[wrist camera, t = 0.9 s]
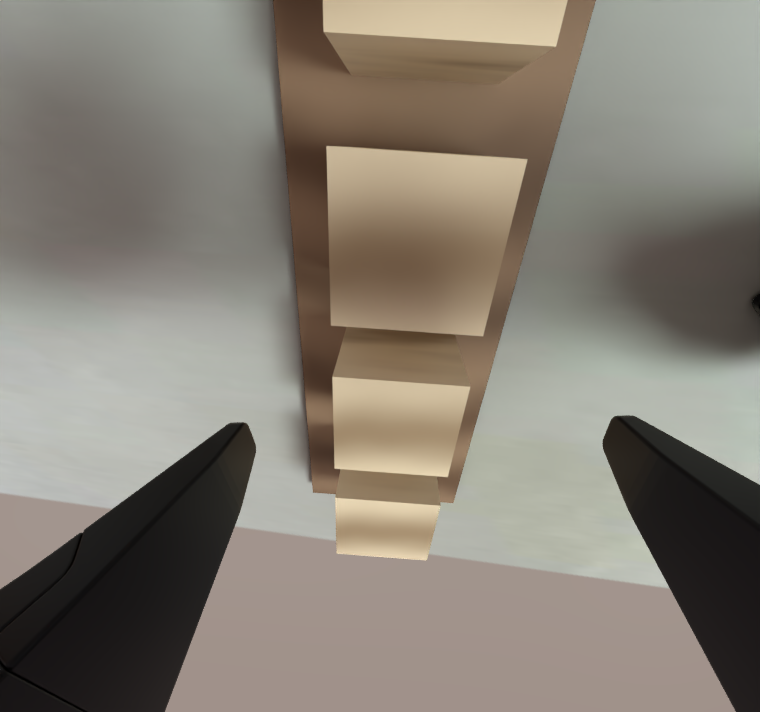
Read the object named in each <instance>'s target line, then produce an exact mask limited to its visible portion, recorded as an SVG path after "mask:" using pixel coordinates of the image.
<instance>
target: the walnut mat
mask: <svg viewBox="0 0 760 712" xmlns="http://www.w3.org/2000/svg"><path fill="white" fill-rule="evenodd" d="M595 1H596V0H568V1H567V5H566V9H565V13H564V17H563V21H562V25H561V29H560V33H559V37H558V41H557V45H556V47H555V48H553V49H552V50H550V51H548V52H547V53H545V54H544V55H542V56H541V57H539V58H538V59H536V60H534V61H533V62H531V63H530V64H528V65H527V66H525V67H523V68H522V69H520V70H519V71H517V72H516V73H514V74H513V75H511V76H509V77H508V78H506V79H505V80H503V81H502V82H500V83H499V84H483V83H467V82H452V81H436V80H421V79H405V78H390V77H374V76H359V75H351V74H350V72H349V71H348V69H347V68H346V66H345V65H344V63H343V61H342V60H341V58H340V57H339V55H338V54H337V52H336V51H335V49H334V47H333V46H332V44H331V43H330V41H329V40H328V38H327V36H326V35H325V33H324V29H323V0H273V6H274V18H275V31H276V43H277V55H278V68H279V80H280V92H281V105H282V117H283V129H284V141H285V154H286V166H287V178H288V191H289V203H290V215H291V227H292V240H293V252H294V264H295V277H296V289H297V301H298V314H299V326H300V338H301V350H302V363H303V375H304V387H305V400H306V412H307V424H308V436H309V449H310V461H311V473H312V486H313V492H315V493H328V494H336V491H337V486H338V480H339V474H340V469H335V464H334V424H333V384H332V376H333V373H334V369H335V366H336V362H337V359H338V355H339V352H340V348H341V345H342V341H343V338H344V334H345V331H346V327H344V326H331V309H330V269H329V229H328V190H327V150H326V146H347V147H364V148H379V149H394V150H409V151H424V152H439V153H454V154H470V155H484V156H496V157H507V158H519V159H528V160H527V164H526V168H525V172H524V176H523V180H522V184H521V188H520V192H519V196H518V200H517V204H516V208H515V212H514V215H513V219H512V223H511V227H510V231H509V235H508V239H507V243H506V247H505V251H504V255H503V259H502V263H501V267H500V271H499V275H498V279H497V283H496V287H495V291H494V295H493V299H492V303H491V307H490V311H489V315H488V319H487V323H486V327H485V331H484V335H483V336H471V335H457V334H455V337H456V341H457V344H458V347H459V351H460V354H461V357H462V361H463V364H464V367H465V370H466V374H467V377H468V380H469V384H470V391H469V395H468V399H467V403H466V407H465V411H464V414H463V418H462V422H461V426H460V430H459V434H458V438H457V442H456V446H455V450H454V454H453V458H452V462H451V466H450V470H449V474H448V477H439V476H437V481H438V489H439V498H440V502H447V503H453V502H454V498H455V495H456V491H457V488H458V484H459V481H460V477H461V474H462V470H463V467H464V463H465V460H466V456H467V453H468V449H469V445H470V442H471V438H472V435H473V431H474V428H475V424H476V421H477V417H478V414H479V410H480V407H481V403H482V400H483V396H484V393H485V389H486V386H487V382H488V378H489V375H490V371H491V368H492V364H493V361H494V357H495V354H496V350H497V347H498V343H499V340H500V336H501V333H502V329H503V326H504V322H505V319H506V315H507V311H508V308H509V304H510V301H511V297H512V294H513V290H514V287H515V283H516V280H517V276H518V273H519V269H520V266H521V262H522V259H523V255H524V252H525V248H526V244H527V241H528V237H529V234H530V230H531V227H532V223H533V220H534V216H535V213H536V209H537V206H538V202H539V199H540V195H541V192H542V188H543V185H544V181H545V177H546V174H547V170H548V167H549V163H550V160H551V156H552V153H553V149H554V146H555V142H556V139H557V135H558V132H559V128H560V125H561V121H562V118H563V114H564V110H565V107H566V103H567V100H568V96H569V93H570V89H571V86H572V82H573V79H574V75H575V72H576V68H577V65H578V61H579V58H580V54H581V51H582V47H583V43H584V40H585V36H586V33H587V29H588V26H589V22H590V19H591V15H592V12H593V8H594V5H595Z"/></svg>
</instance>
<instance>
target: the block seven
mask: <svg viewBox="0 0 760 712" xmlns="http://www.w3.org/2000/svg"><path fill="white" fill-rule="evenodd" d="M326 150H327V190H328V229H329V269H330V309H331V326H344V327H358V328H372V329H387V330H401V331H415V332H429V333H443V334H457V335H471V336H483V335H484V331H485V327H486V323H487V319H488V315H489V311H490V307H491V303H492V299H493V295H494V291H495V287H496V283H497V279H498V275H499V271H500V267H501V263H502V259H503V255H504V251H505V247H506V243H507V239H508V235H509V231H510V227H511V223H512V219H513V215H514V212H515V208H516V204H517V200H518V196H519V192H520V188H521V184H522V180H523V176H524V172H525V168H526V164H527V160H528V159H519V158H507V157H496V156H484V155H470V154H454V153H439V152H424V151H409V150H394V149H379V148H364V147H347V146H326Z"/></svg>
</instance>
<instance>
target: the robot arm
mask: <svg viewBox="0 0 760 712" xmlns="http://www.w3.org/2000/svg"><path fill="white" fill-rule="evenodd" d="M752 305H753V307H754V309H755V310H756V312H757V313H758V315H759V316H760V294H759V295H758V296H756V297H755V299H754V300H753V302H752ZM603 449H604V452H605V455H606V457H607V460H608V462H609V465H610V467H611V469H612V472H613V474H614V477H615V479H616V482H617V484H618V487H619V489H620V491H621V494H622V496H623V499H624V501H625V503H626V506H627V508H628V510H629V512H630V514H631V516H632V518H633V520H634V522H635V524H636V526H637V528H638V530H639V531H640V533H641V535H642V537H643V539H644V541H645V543H646V545H647V546H648V548H649V550H650V552H651V554H652V556H653V558H654V559H655V561H656V563H657V565H658V567H659V569H660V571H661V573H662V574H663V576H664V578H665V580H666V582H667V584H668V586H669V588H670V589H671V591H672V593H673V595H674V597H675V599H676V601H677V603H678V604H679V606H680V608H681V610H682V612H683V613H684V615H685V617H686V619H687V621H688V623H689V625H690V627H691V629H692V631H693V632H694V634H695V636H696V638H697V640H698V642H699V644H700V645H701V647H702V649H703V651H704V653H705V655H706V656H707V658H708V661H709V662H710V664H711V666H712V668H713V670H714V672H715V673H716V675H717V677H718V679H719V681H720V683H721V685H722V687H723V689H724V690H725V692H726V694H727V696H728V698H729V700H730V701H731V703H732V705H733V707H734V709H735V711H736V712H760V485H759V484H757V483H755V482H753V481H752V480H750V479H748V478H746V477H744V476H743V475H741V474H739V473H737V472H735V471H734V470H732V469H730V468H728V467H726V466H724V465H723V464H721V463H719V462H717V461H715V460H714V459H712V458H710V457H708V456H706V455H704V454H703V453H701V452H699V451H697V450H695V449H694V448H692V447H690V446H688V445H686V444H684V443H683V442H681V441H679V440H677V439H675V438H674V437H672V436H670V435H668V434H666V433H665V432H663V431H661V430H659V429H657V428H655V427H654V426H652V425H650V424H648V423H646V422H645V421H643V420H641V419H639V418H637V417H635V416H614V417H613V418H612V419H611V421H610V424H609V426H608V429H607V431H606V434H605V436H604V439H603ZM255 453H256V445H255V442H254V439H253V437H252V434H251V431H250V429H249V426H248V425H247V424H246V423H244V422H237V423H229V424H228V425H226V426H225V427H223V428H222V429H221V430H219V431H218V432H217V433H215V434H214V435H212V436H211V437H210V438H208V439H207V440H206V441H204V442H203V443H202V444H200V445H199V446H198V447H196V448H195V449H193V450H192V451H191V452H189V453H188V454H187V455H185V456H184V457H183V458H181V459H180V460H178V461H177V462H176V463H174V464H173V465H172V466H170V467H169V468H168V469H166V470H165V471H164V472H162V473H161V474H159V475H158V476H157V477H155V478H154V479H153V480H151V481H150V482H149V483H147V484H146V485H144V486H143V487H142V488H140V489H139V490H138V491H136V492H135V493H134V494H132V495H131V496H130V497H128V498H127V499H125V500H124V501H123V502H121V503H120V504H119V505H117V506H116V507H115V508H113V509H112V510H111V511H109V512H108V513H106V514H105V515H104V516H102V517H101V518H100V519H98V520H97V521H95V522H94V523H93V524H91V525H90V526H89V527H87V528H86V529H85V530H84V532H83V533H79V534H78V535H76V536H75V537H74V538H72V539H71V540H70V541H68V542H67V543H66V544H64V545H63V546H61V547H60V548H59V549H57V550H56V551H54V552H53V553H52V554H50V555H49V556H47V557H46V558H45V559H43V560H42V561H40V562H39V563H38V564H36V565H35V566H33V567H32V568H31V569H29V570H28V571H27V572H25V573H23V574H22V575H21V576H19V577H18V578H16V579H15V580H13V581H12V582H10V583H9V584H8V585H6V586H4V587H3V588H2V589H0V712H165V710H166V707H167V704H168V702H169V699H170V696H171V694H172V691H173V688H174V686H175V683H176V681H177V678H178V675H179V673H180V670H181V667H182V665H183V662H184V659H185V657H186V654H187V651H188V649H189V646H190V643H191V641H192V638H193V635H194V633H195V630H196V627H197V625H198V622H199V619H200V617H201V614H202V611H203V609H204V606H205V604H206V601H207V598H208V595H209V593H210V590H211V588H212V585H213V582H214V580H215V577H216V574H217V572H218V569H219V566H220V564H221V561H222V558H223V556H224V553H225V550H226V548H227V545H228V543H229V540H230V537H231V535H232V532H233V529H234V527H235V524H236V521H237V519H238V516H239V513H240V510H241V507H242V503H243V500H244V496H245V492H246V488H247V484H248V481H249V477H250V473H251V469H252V465H253V461H254V458H255Z"/></svg>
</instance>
